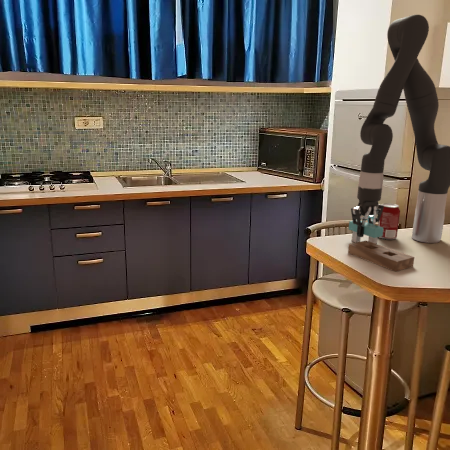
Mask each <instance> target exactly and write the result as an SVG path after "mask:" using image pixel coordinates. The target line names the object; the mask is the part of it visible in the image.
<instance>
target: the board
mask: <svg viewBox="0 0 450 450" xmlns="http://www.w3.org/2000/svg"><path fill="white" fill-rule="evenodd" d="M347 254H349V255H352V256H354V257H357V258H359V259H363V260H364V261H367V262H371V263H373V264H375V265H378V266H380V267H382V268H386V269H388V270H391V271H393V272H398V271H403V270H405V269H410V268H413V267H414V264H415V256H413V255H410V254H407V253H404V252H401V251H397V250H395V249H393V248H389V247H386V246H383V245H381V244H378V243H377V244H375V243H372V242H369V241H368V240H362V241H361V240H360V242H354V243H349V244H348V248H347Z"/></svg>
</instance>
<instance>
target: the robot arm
mask: <svg viewBox="0 0 450 450" xmlns="http://www.w3.org/2000/svg"><path fill="white" fill-rule="evenodd" d="M429 30H430V26H429V21H428V19H427V18H426V17H425V16H424V15H423V14H422V15H421V14H412V15H409V16H405V17H401V18H397V19H395V20H393V21H392V22H391V23H390V24H389V26H388V29H387V34H386V35H387V38H386V39H387V43H388V45H389V48H390V51H391V54H392V57H393V59H394V62H393V64H392V66H391V68H390V69H389V71H388V72H387V74H385V77H383V80H382V81H381V83H380V85H379V88H378V90H377V93H376V97H375V99H374V103H373V106H372V108H371V110H370V112H368V115H367V116H366V118H365V119H364V122H363V123H362V126H361V128H360V131H359V132H360V133H359V134H360V135H359V136H360V140H361V143H363V144H365V145H369V146H371V148H370V151H369V152H367V153H364V154H363V155H362V157H361V166H360V172H359V173H360V174H359V176H358V177H359V178H358V186H357V196H356V197H357V200H358V203H357V206H356V207H351V208H350V212H351V218H352V220H351V221H353V224H356V225H357V236H358V237H361V238H364V236H365V235H364V225H365V222H367V223H370V224H373V225H376V224H377V223H378V222H379V220H380V217H381V214H382V211H383V209H384V205H382V204H380V203H379V202H380V201H381V200H382V193H383V184H384V169H385V160H386V158H387V155H388V153H389V151H390V147H391V145H392V143H393V138H394V133H393V129H392V127H391V126H390V125H389V124H386V123H384V122H385V121H386V120H387V119H388V118H392V117H393V116H394V115H395V114H396V111H397V108H398V105H399V103H400V99H401V96H402V93H403V94H404V100H405V102H406V107H407V110H408V114H409V118H410V121H411V126H412V130H413V135H414V141H415V142H414V143H415V148H416V156H417V157H416V158H417V161H418V163H419V166H420V167H421V169H424V170H426V171H429V175H428V177H427V178H426V180H423V181H421V182H419V184H418V191H417V197H416V205H415V209H414V210H415V212H414V219H413V226H412V231H411V238H412V240H414V241H417V242H421V243H427V244H437V243H440V241H441V240H442V236H443V235H442V234H443V229H444V223H445V218H446V214H445V212H446V204H447V197H448V192H449V189H450V145H446V144H441V143H440V144H439V143H438V140H437V136H436V131H435V122H436V119H437V115H438V112H439V106H440V105H439V98H438V93H437V89H436V85H435V82H434V81H433V79H432V78H431V76H430V75H429V74H428V72H427V71H426V70H425V68H424V66H422V65H421V63H420V61H419V59H418V56H419V55H420V53H421V50H422V49H423V47H424V45H425V42H426V40H427V38H428V35H429ZM356 220H357V221H356ZM361 221H362V223H361Z"/></svg>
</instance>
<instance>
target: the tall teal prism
mask: <svg viewBox="0 0 450 450" xmlns="http://www.w3.org/2000/svg"><path fill="white" fill-rule="evenodd" d="M356 221H357V219H356ZM361 223H362V220H361ZM348 230H349V231H352V236H351V242H354V243H357V242H361V238H362V237H358V236H357V225H356V224H353V220H349V221H348ZM382 235H383V227H380V226H378V224H377V225H376V224H375V225H373V224H370V223H368V221H366V222H365V225H364V236H367V237H368V240H367V241H369V242H372V243H375V244H378V238H379V237H381V236H382Z"/></svg>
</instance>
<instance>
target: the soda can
mask: <svg viewBox="0 0 450 450" xmlns="http://www.w3.org/2000/svg"><path fill="white" fill-rule="evenodd" d="M381 205H384V209H383V211H382V214H381V217H380V220H379V222H377V226H380V227H383V235H382V236H381V237H380V238H379V239H381V238H382V239H381V240H385V239H386V240H385V241H393V240H394V239H397V237H398V231H399V224H400V223H399V222H400V217H401V216H400V215H401V210H400V205H398V204H395V203H389V202H385V203H382V204H381Z"/></svg>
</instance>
